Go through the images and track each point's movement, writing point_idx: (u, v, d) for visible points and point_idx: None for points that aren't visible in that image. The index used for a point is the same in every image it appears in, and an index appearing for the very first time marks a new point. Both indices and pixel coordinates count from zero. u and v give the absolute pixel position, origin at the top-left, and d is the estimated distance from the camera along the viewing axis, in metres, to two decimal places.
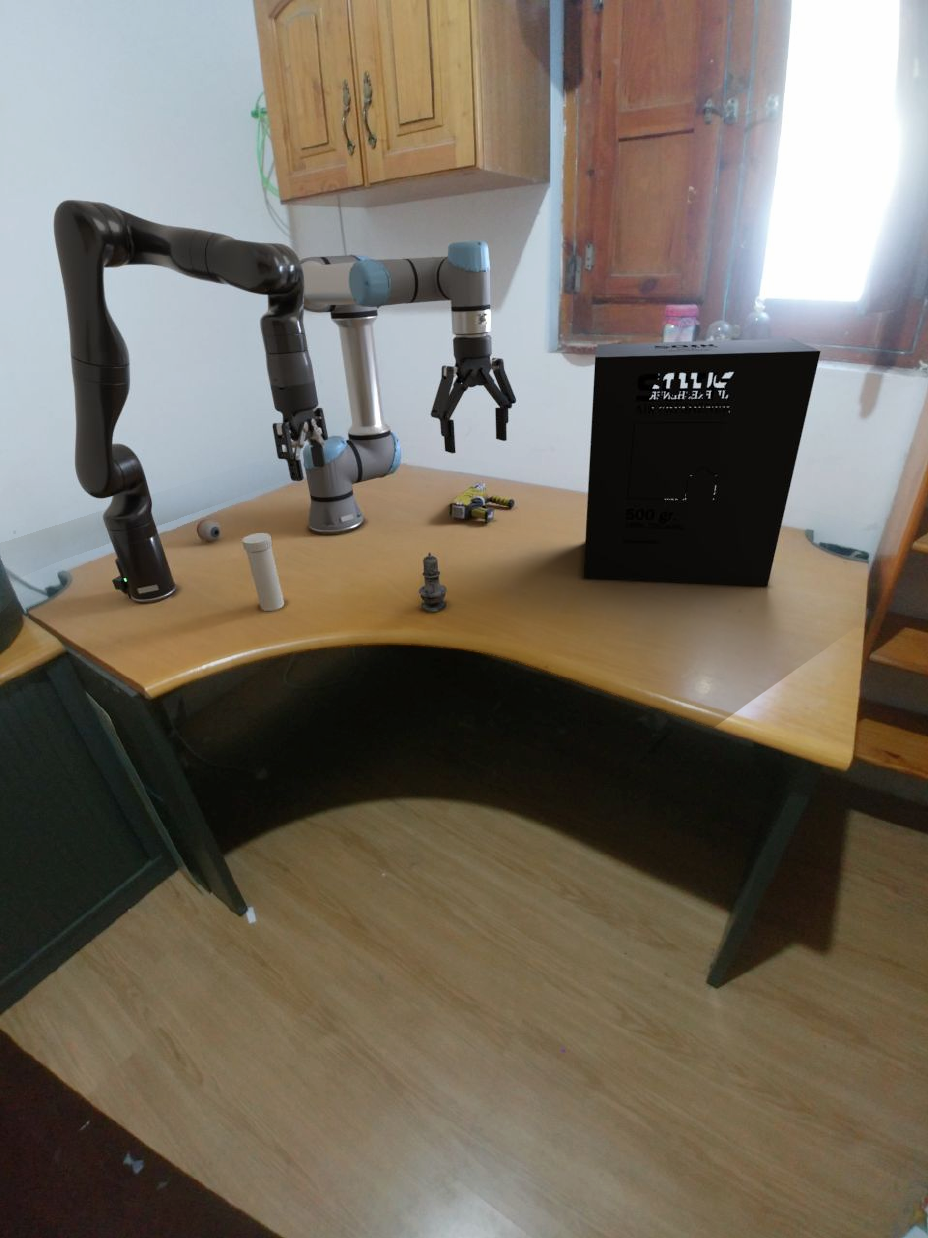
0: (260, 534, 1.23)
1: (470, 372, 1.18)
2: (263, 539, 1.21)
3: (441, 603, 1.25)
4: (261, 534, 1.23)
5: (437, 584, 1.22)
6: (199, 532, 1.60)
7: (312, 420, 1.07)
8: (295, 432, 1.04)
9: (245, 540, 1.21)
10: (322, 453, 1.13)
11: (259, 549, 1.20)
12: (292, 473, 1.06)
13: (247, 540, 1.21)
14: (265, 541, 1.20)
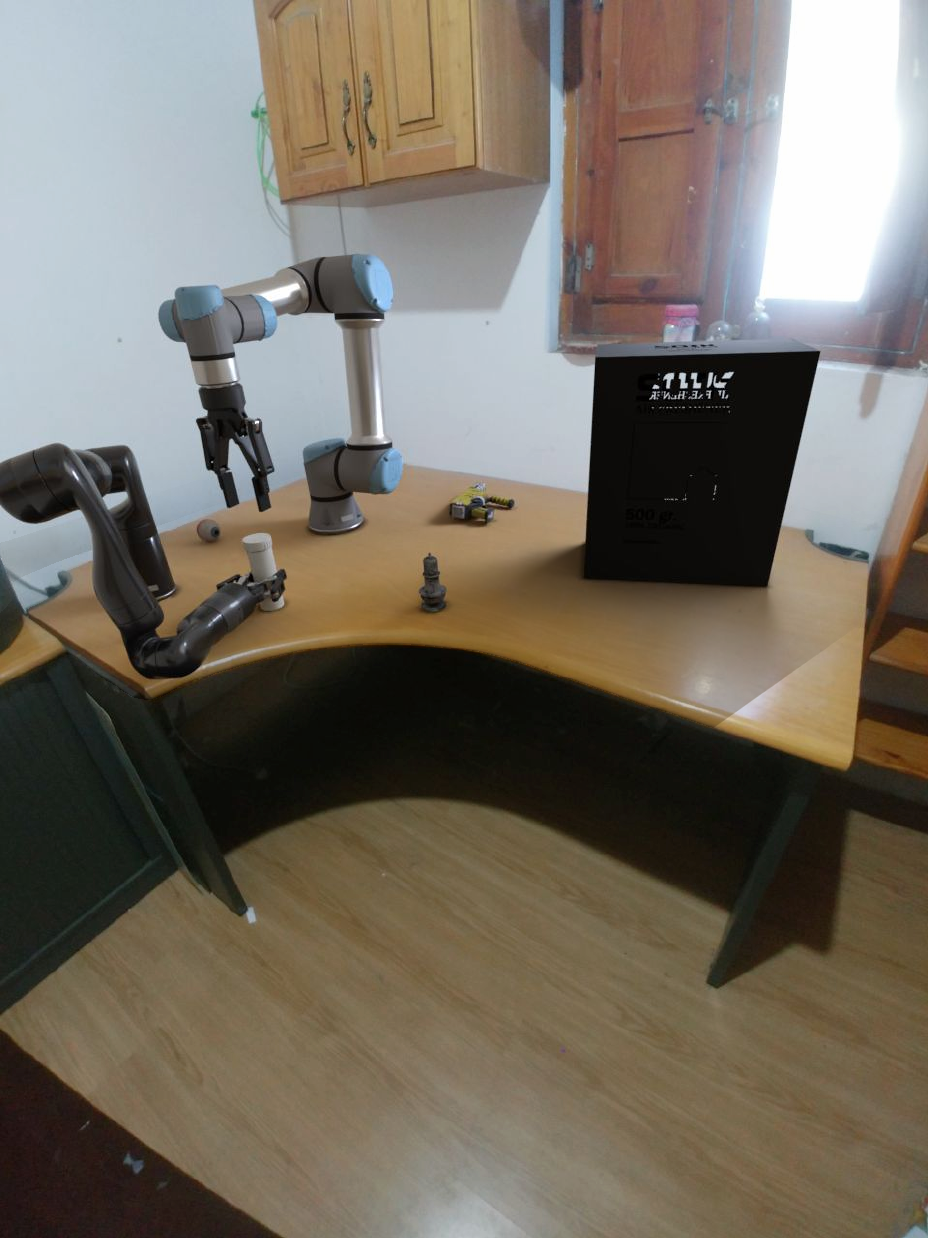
0: (260, 534, 1.23)
1: None
2: (263, 539, 1.21)
3: (441, 603, 1.25)
4: (261, 534, 1.23)
5: (437, 584, 1.22)
6: (199, 532, 1.60)
7: None
8: None
9: (245, 540, 1.21)
10: None
11: (259, 549, 1.20)
12: None
13: (247, 540, 1.21)
14: (265, 541, 1.20)
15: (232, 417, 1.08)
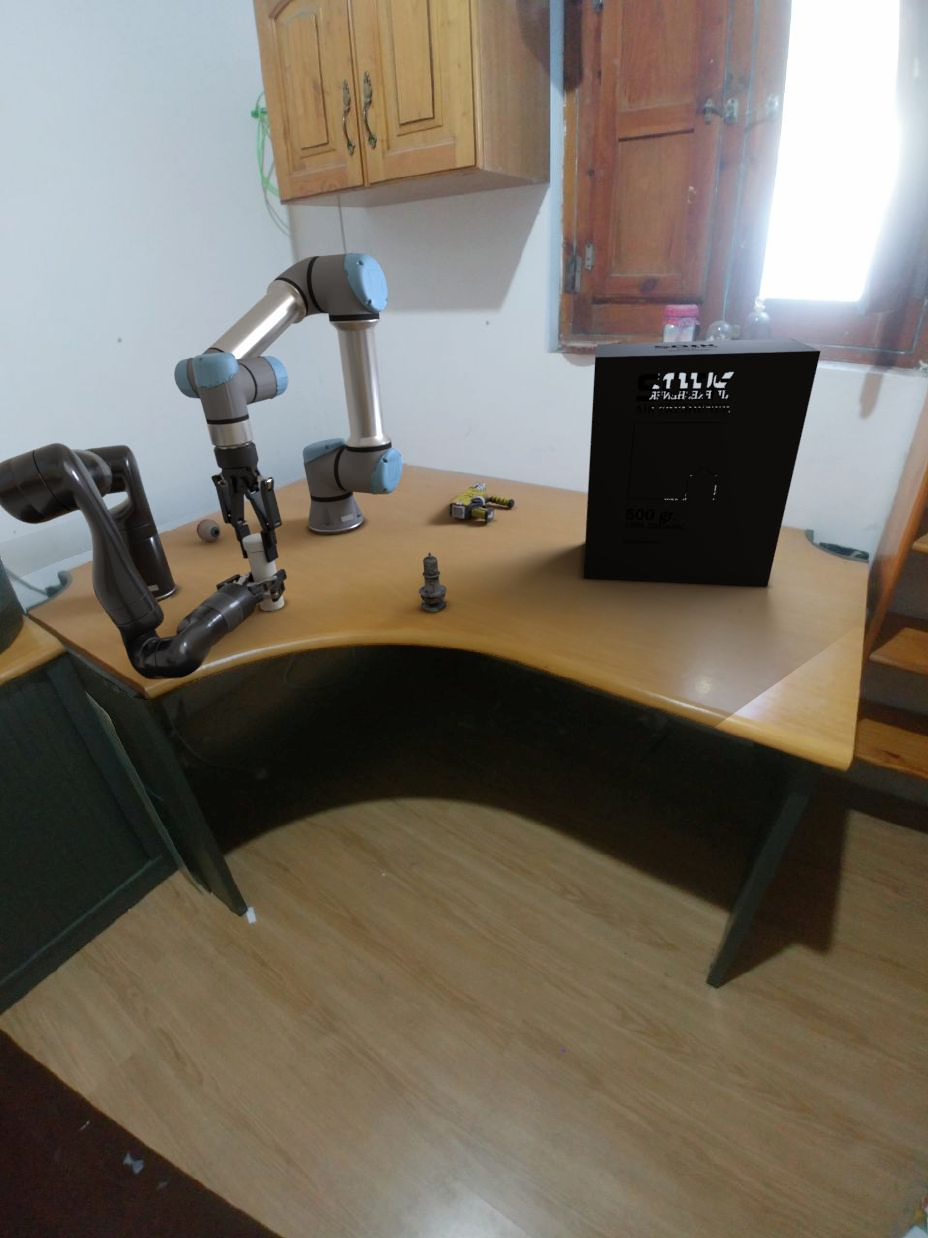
0: (260, 534, 1.23)
1: None
2: None
3: (441, 603, 1.25)
4: None
5: (437, 584, 1.22)
6: (199, 532, 1.60)
7: None
8: None
9: (245, 540, 1.21)
10: None
11: (259, 549, 1.20)
12: None
13: (247, 540, 1.21)
14: None
15: (245, 474, 1.13)
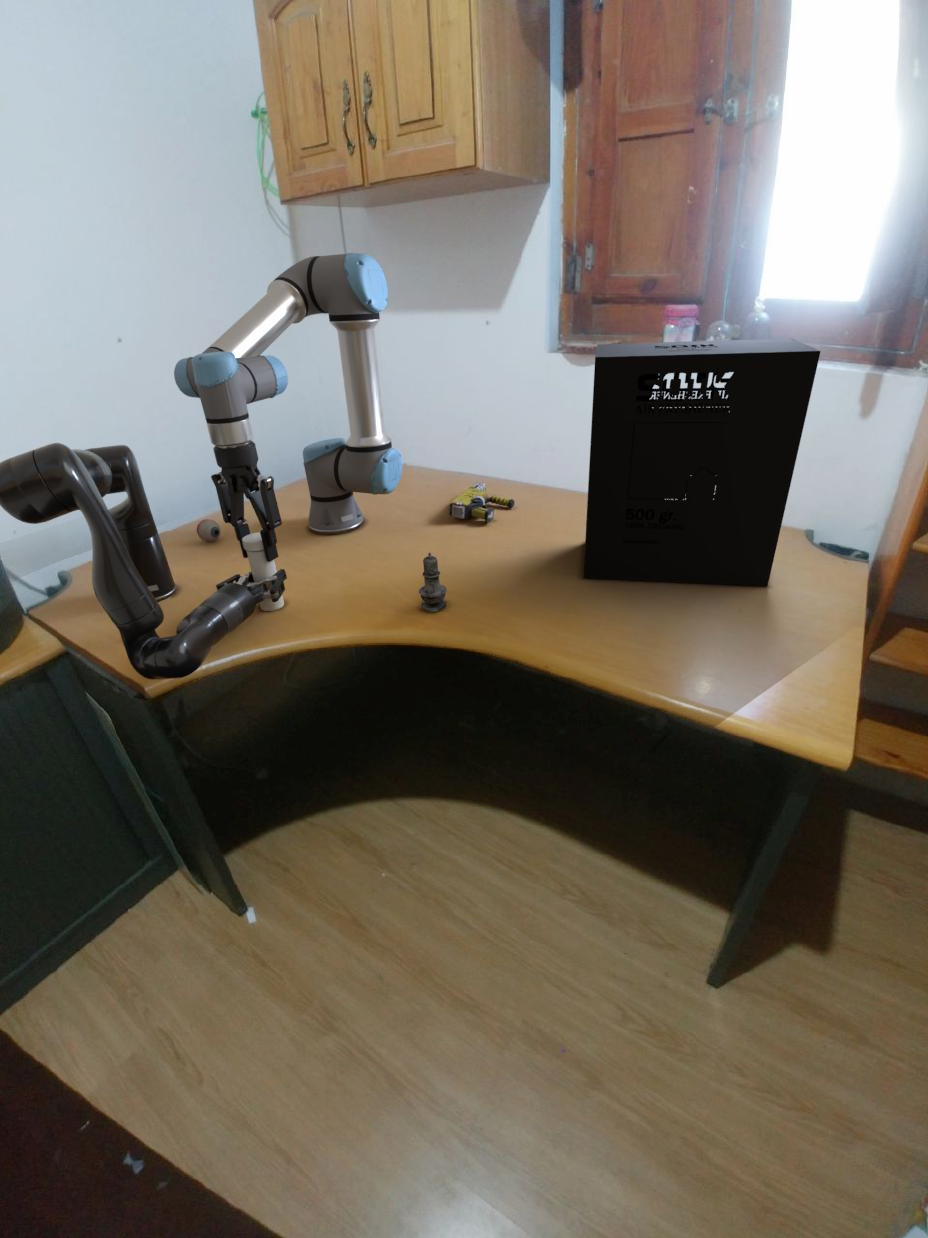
0: (246, 539, 1.21)
1: None
2: (257, 533, 1.23)
3: (441, 603, 1.25)
4: (246, 538, 1.21)
5: (437, 584, 1.22)
6: (199, 532, 1.60)
7: None
8: None
9: None
10: None
11: None
12: None
13: None
14: None
15: (245, 473, 1.13)
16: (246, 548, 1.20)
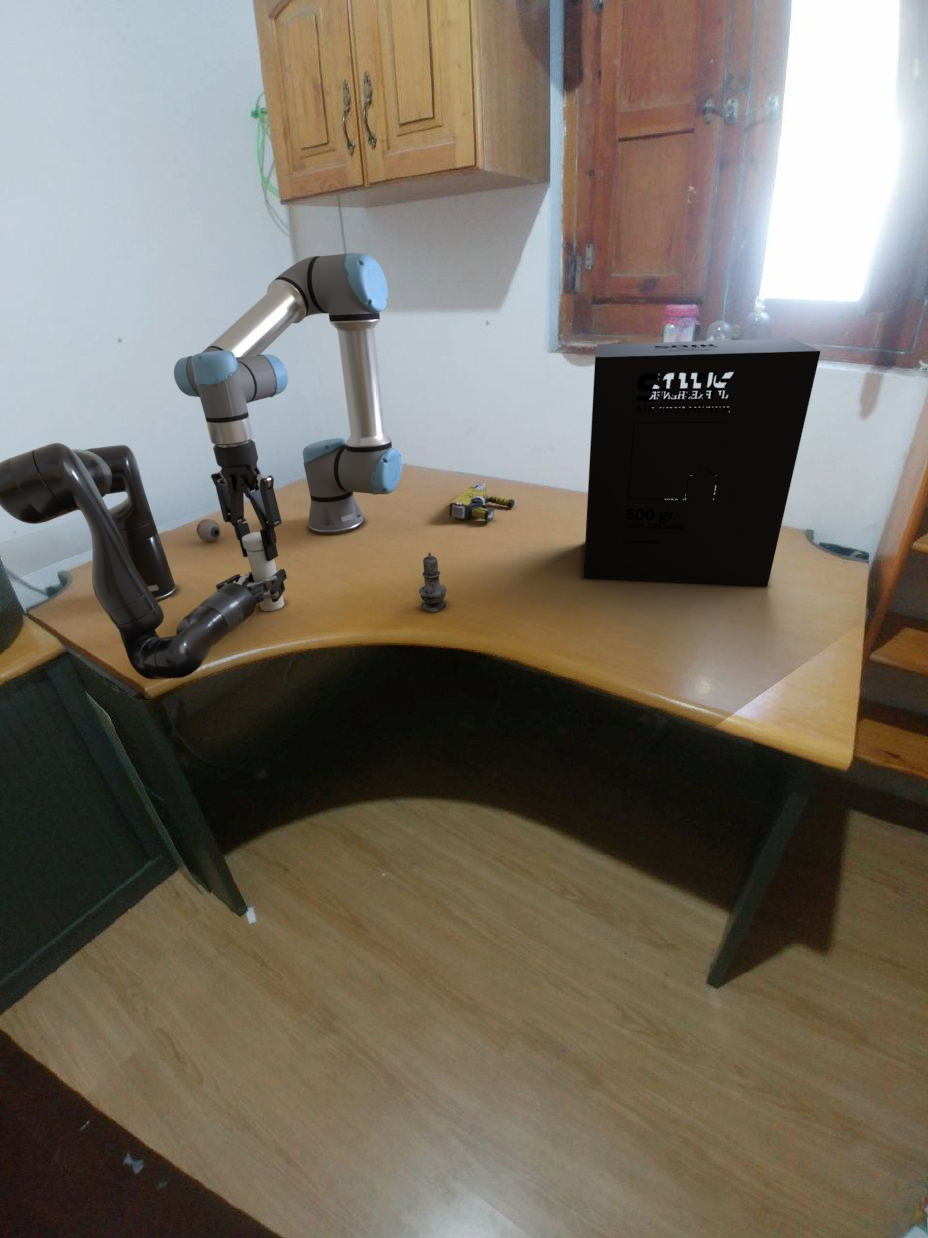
0: None
1: None
2: (246, 539, 1.20)
3: (441, 603, 1.25)
4: None
5: (437, 584, 1.22)
6: (199, 532, 1.60)
7: None
8: None
9: (256, 532, 1.23)
10: None
11: None
12: None
13: (255, 533, 1.23)
14: (243, 541, 1.20)
15: (245, 473, 1.13)
16: None
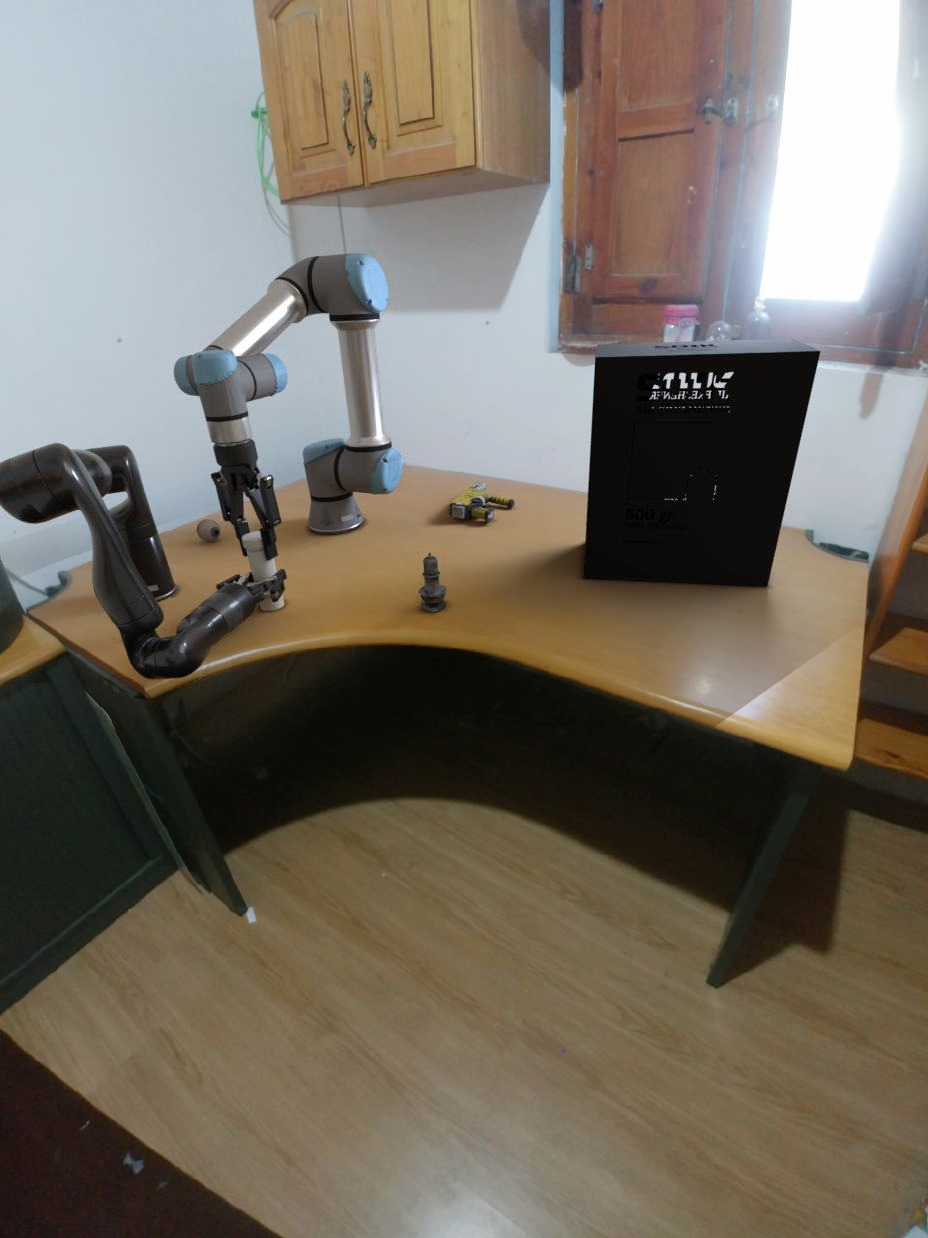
0: (256, 532, 1.23)
1: None
2: None
3: (441, 603, 1.25)
4: (258, 532, 1.23)
5: (437, 584, 1.22)
6: (199, 532, 1.60)
7: None
8: None
9: (246, 539, 1.20)
10: None
11: None
12: None
13: (248, 538, 1.20)
14: None
15: (245, 472, 1.13)
16: None
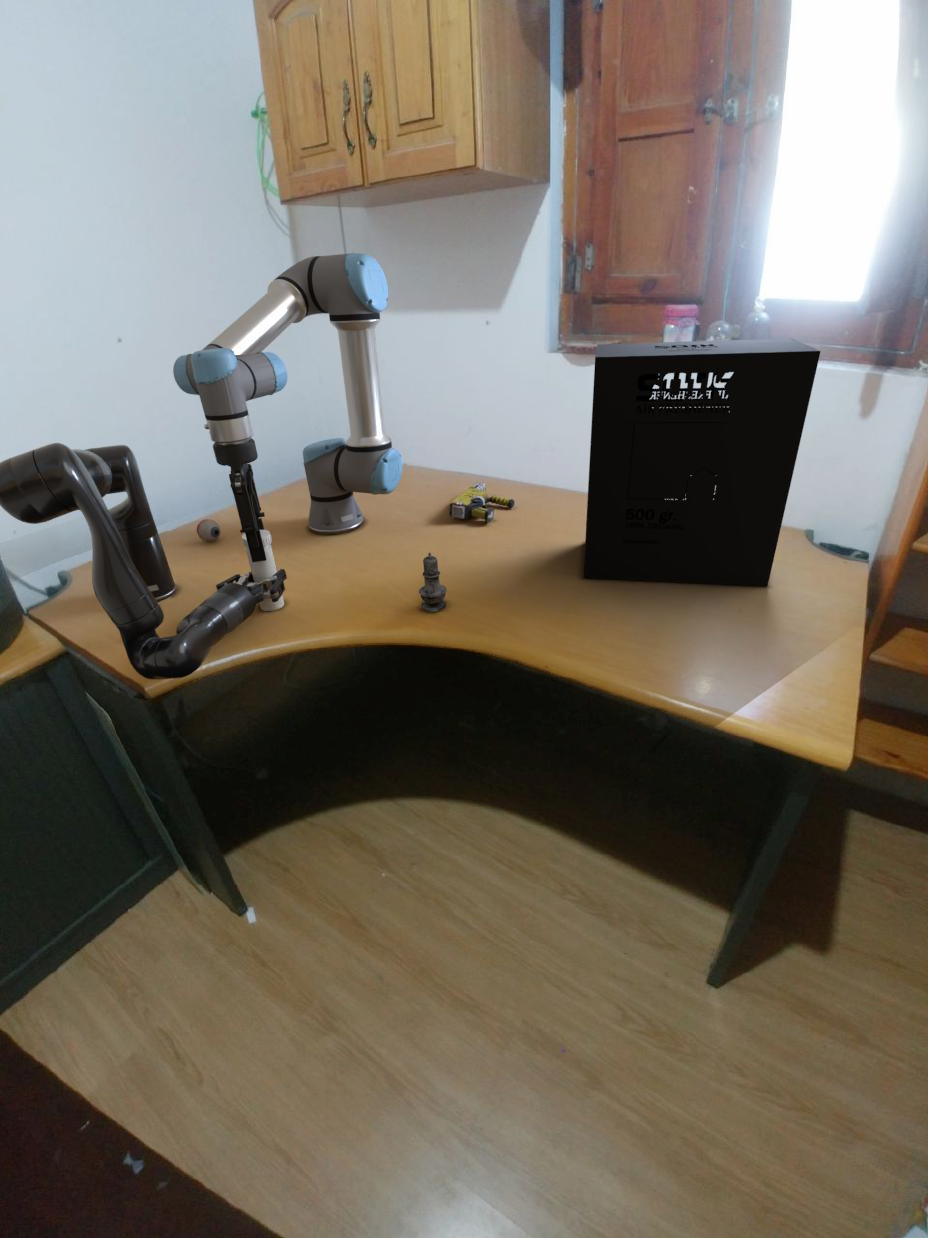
0: None
1: None
2: None
3: (441, 603, 1.25)
4: None
5: (437, 584, 1.22)
6: (199, 532, 1.60)
7: None
8: None
9: (266, 534, 1.21)
10: None
11: None
12: None
13: (265, 534, 1.21)
14: None
15: (246, 464, 1.17)
16: None
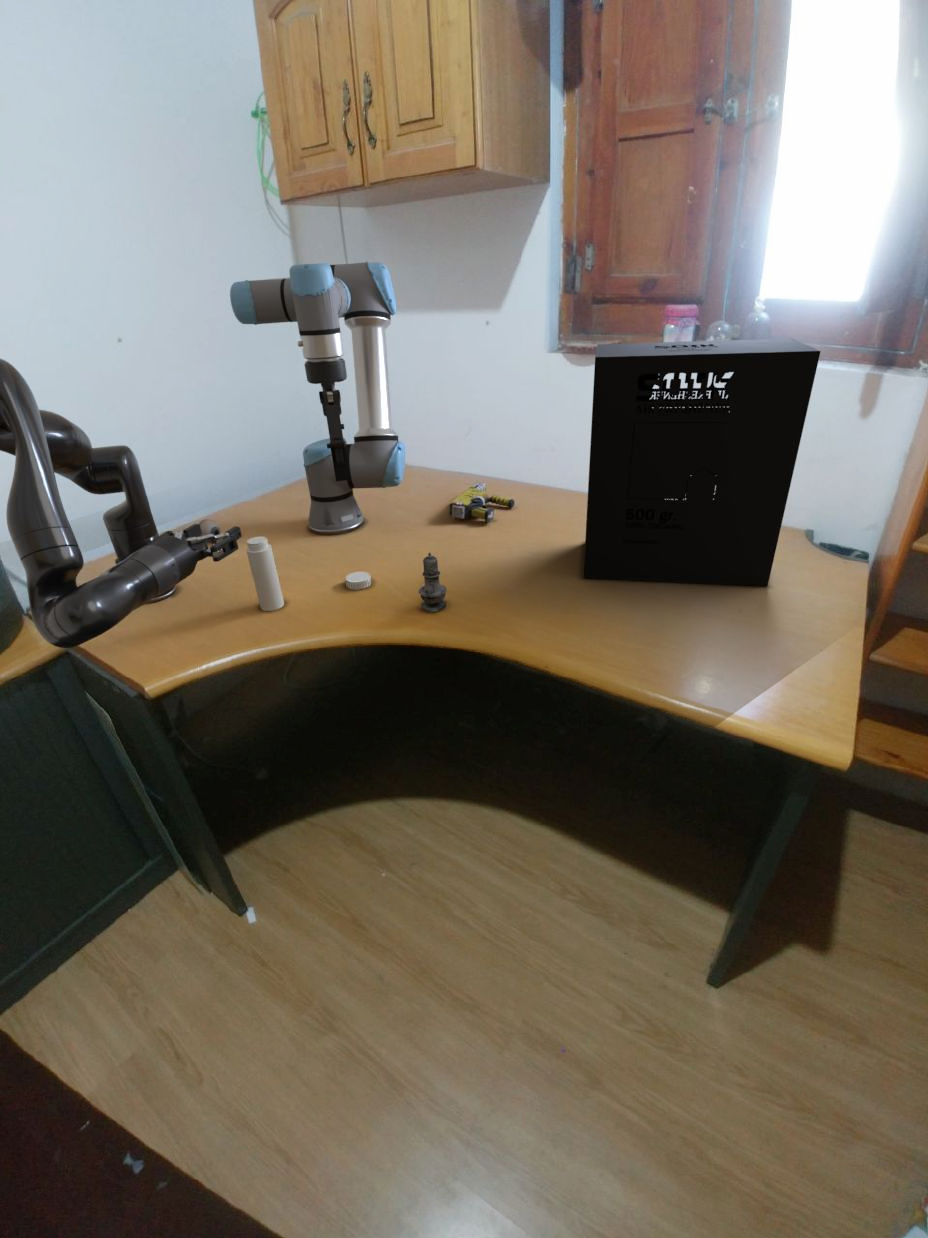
0: (351, 579, 1.34)
1: None
2: (355, 573, 1.37)
3: (441, 603, 1.25)
4: (350, 579, 1.34)
5: (437, 584, 1.22)
6: None
7: None
8: None
9: (367, 576, 1.35)
10: None
11: None
12: None
13: (366, 576, 1.35)
14: None
15: None
16: (353, 587, 1.34)
